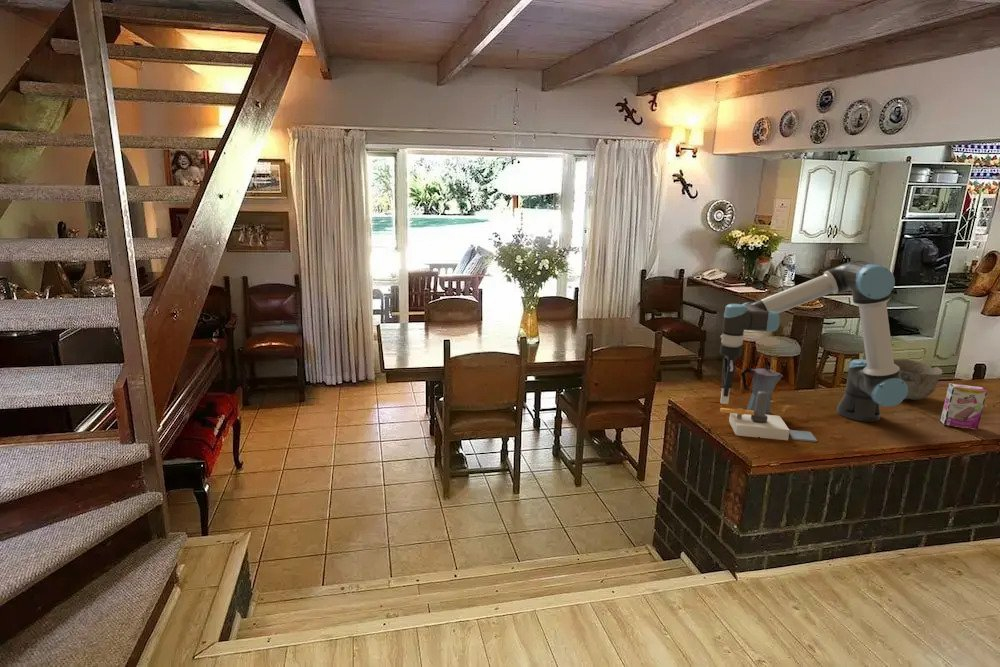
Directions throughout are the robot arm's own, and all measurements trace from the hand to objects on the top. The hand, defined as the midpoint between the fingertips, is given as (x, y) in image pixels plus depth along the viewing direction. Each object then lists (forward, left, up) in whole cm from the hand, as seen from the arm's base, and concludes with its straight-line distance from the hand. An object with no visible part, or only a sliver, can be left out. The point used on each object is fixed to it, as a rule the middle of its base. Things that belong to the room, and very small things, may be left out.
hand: (724, 403), depth 230 cm
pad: (-27, +9, -7) cm, 29 cm away
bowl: (-85, -48, -7) cm, 97 cm away
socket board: (-12, +7, -7) cm, 15 cm away
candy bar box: (-91, -17, -7) cm, 92 cm away
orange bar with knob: (-3, +7, -1) cm, 8 cm away
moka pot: (-16, -13, -7) cm, 21 cm away
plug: (-12, +7, -7) cm, 15 cm away
